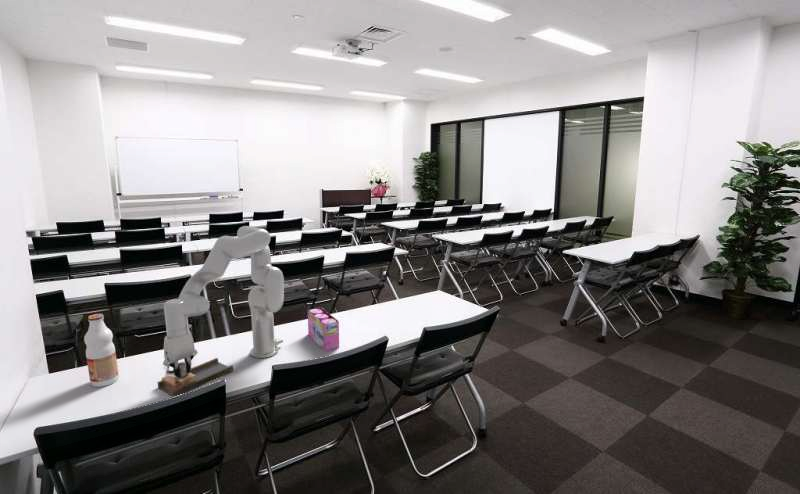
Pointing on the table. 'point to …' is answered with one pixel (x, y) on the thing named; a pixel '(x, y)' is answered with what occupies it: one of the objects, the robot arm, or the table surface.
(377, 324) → the table surface
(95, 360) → the fruit juice
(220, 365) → the slide track
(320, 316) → the pink multipack carton
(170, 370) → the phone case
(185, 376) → the oak slider
